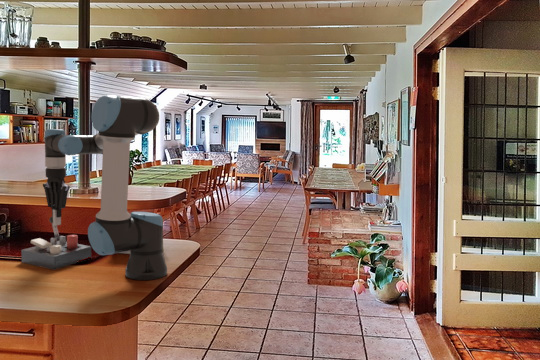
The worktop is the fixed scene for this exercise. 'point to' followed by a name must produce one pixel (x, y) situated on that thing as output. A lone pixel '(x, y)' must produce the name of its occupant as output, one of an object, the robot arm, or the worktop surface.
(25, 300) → the worktop surface
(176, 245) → the worktop surface
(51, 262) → the console
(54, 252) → the button ivory
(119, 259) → the worktop surface
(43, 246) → the rocker
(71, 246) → the button red
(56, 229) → the lever
